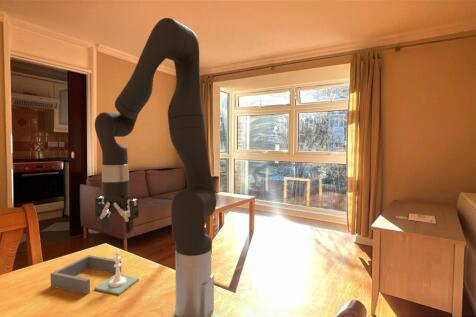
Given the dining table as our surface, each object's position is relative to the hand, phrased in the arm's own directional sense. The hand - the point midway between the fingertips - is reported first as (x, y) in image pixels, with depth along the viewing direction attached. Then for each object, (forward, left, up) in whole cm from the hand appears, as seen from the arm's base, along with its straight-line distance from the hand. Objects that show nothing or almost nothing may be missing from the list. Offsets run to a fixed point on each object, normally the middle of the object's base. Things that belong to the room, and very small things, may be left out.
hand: (117, 231), depth 84 cm
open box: (+11, 0, -17) cm, 20 cm away
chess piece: (0, 0, -17) cm, 17 cm away
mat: (0, 0, -17) cm, 17 cm away
